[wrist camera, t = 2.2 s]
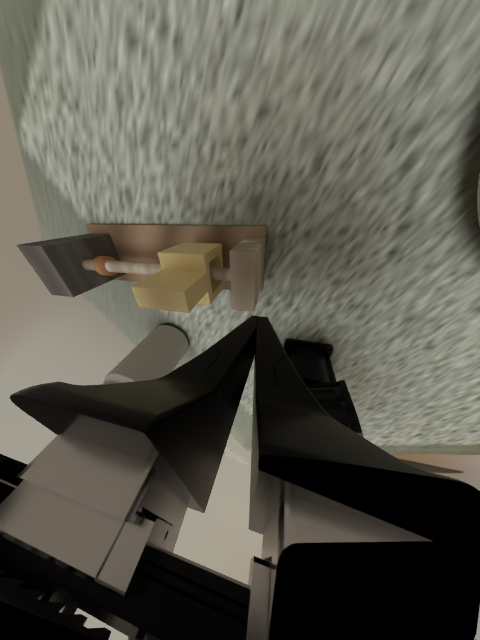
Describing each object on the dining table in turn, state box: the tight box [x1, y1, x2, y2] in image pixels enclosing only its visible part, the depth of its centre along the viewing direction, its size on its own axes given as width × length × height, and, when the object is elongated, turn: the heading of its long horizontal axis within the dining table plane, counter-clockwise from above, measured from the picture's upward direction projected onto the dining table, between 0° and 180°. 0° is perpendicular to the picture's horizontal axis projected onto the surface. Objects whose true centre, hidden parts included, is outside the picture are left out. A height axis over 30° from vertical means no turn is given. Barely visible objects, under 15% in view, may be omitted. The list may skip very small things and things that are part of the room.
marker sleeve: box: [131, 242, 224, 313], centre depth 15 cm, size 4×4×8 cm
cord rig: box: [17, 224, 267, 312], centre depth 18 cm, size 22×7×8 cm, turn 91°
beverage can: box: [102, 325, 188, 385], centre depth 25 cm, size 6×6×12 cm
